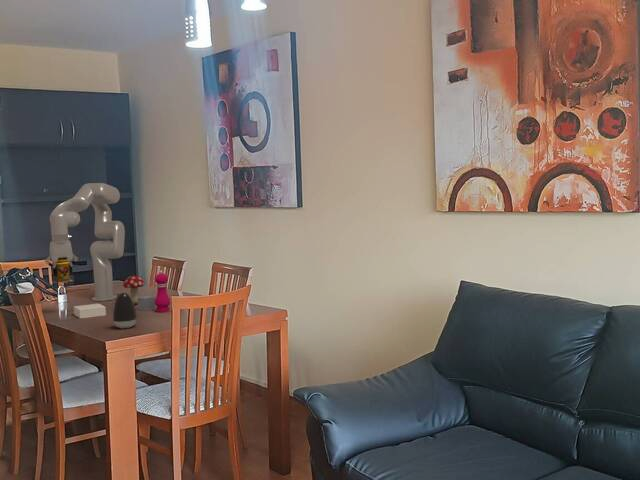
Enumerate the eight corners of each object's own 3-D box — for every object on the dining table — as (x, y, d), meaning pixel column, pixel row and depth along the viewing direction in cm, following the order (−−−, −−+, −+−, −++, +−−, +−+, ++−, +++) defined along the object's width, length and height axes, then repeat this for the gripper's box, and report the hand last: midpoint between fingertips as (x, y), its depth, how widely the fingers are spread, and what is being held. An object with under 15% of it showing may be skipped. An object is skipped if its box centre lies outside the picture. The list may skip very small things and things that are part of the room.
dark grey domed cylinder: (130, 323, 322) (128, 290, 320) (141, 326, 314) (139, 292, 313) (108, 327, 315) (106, 293, 314) (119, 330, 307) (117, 295, 306)
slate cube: (138, 309, 357) (137, 297, 357) (148, 307, 362) (148, 295, 361) (145, 310, 353) (144, 298, 353) (155, 308, 357) (154, 296, 357)
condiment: (64, 282, 345) (63, 258, 344) (50, 282, 348) (48, 257, 347) (74, 280, 352) (72, 256, 351) (59, 280, 355) (58, 255, 354)
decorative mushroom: (125, 307, 363) (123, 277, 362) (122, 304, 373) (120, 275, 372) (147, 305, 367) (146, 276, 366) (144, 302, 378) (142, 273, 376)
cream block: (74, 314, 348) (73, 306, 347) (99, 311, 354) (98, 303, 354) (80, 318, 338) (79, 310, 337) (106, 315, 344) (105, 306, 343)
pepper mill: (173, 310, 351) (171, 269, 350) (165, 313, 345) (163, 271, 343) (160, 309, 354) (158, 269, 352) (152, 312, 347) (150, 271, 345)
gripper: (76, 236, 356) (79, 272, 358) (39, 239, 347) (42, 276, 349) (80, 237, 349) (82, 274, 351) (42, 240, 340) (45, 278, 342)
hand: (62, 275), depth 350 cm, fingers closed on condiment, 6 cm apart
